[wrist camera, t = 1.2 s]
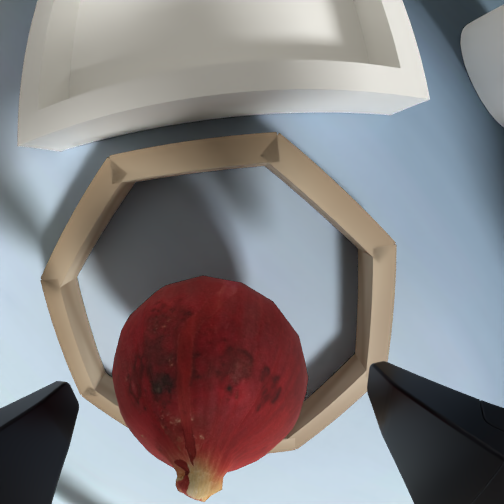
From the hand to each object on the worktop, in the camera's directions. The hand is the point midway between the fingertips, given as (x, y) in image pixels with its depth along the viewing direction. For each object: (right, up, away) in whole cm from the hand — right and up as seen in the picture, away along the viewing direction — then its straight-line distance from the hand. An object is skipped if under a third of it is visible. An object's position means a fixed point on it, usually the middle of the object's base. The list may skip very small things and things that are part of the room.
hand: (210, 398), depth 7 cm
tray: (-1, +16, +1) cm, 16 cm away
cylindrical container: (+16, +14, +3) cm, 21 cm away
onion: (0, +1, +5) cm, 5 cm away
